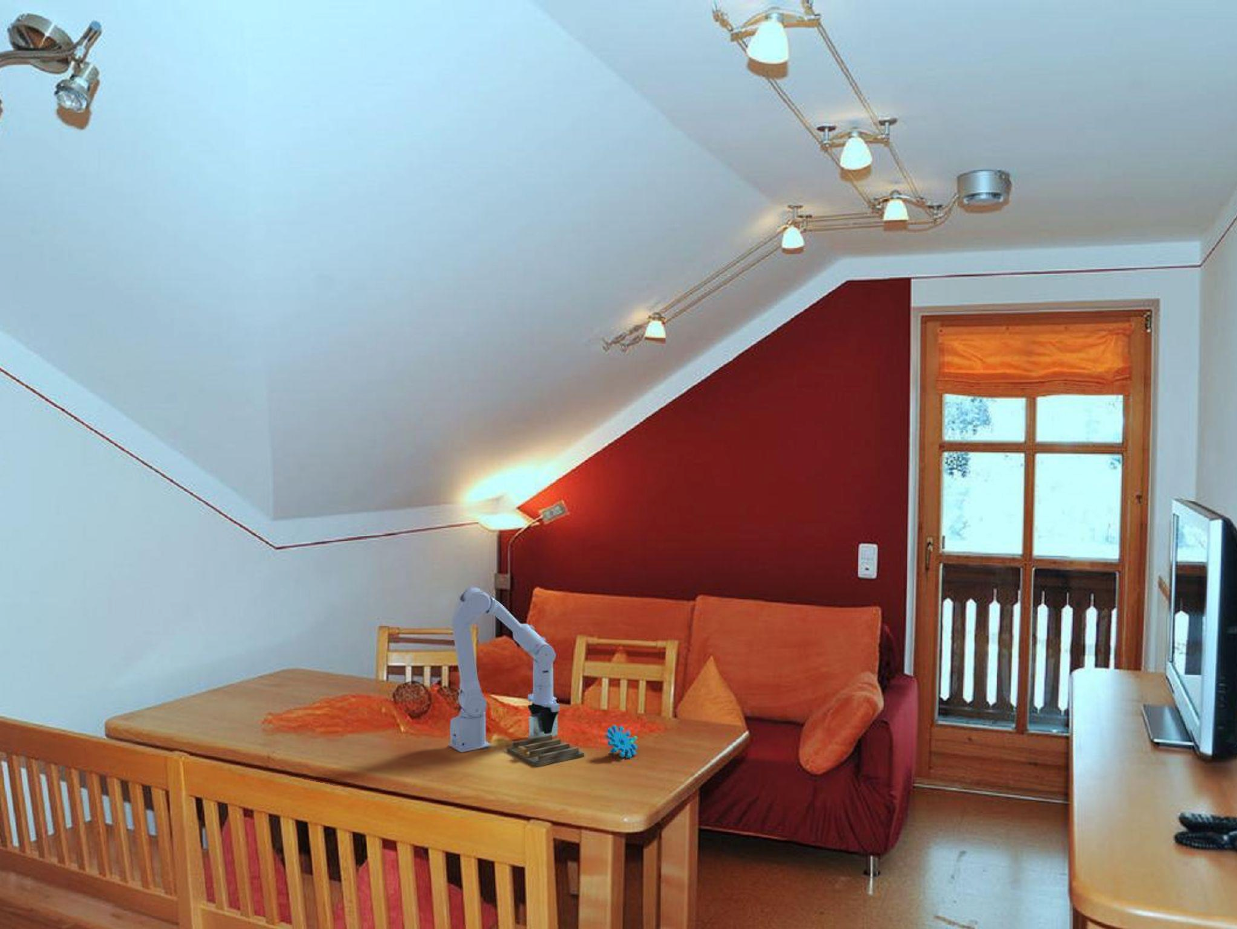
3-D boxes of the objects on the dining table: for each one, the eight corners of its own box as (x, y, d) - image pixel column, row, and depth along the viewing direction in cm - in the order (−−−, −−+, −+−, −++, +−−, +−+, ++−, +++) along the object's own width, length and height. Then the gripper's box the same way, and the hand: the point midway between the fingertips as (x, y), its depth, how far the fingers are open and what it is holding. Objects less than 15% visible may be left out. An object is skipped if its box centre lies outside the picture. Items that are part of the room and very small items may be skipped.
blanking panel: (533, 741, 294) (533, 717, 294) (529, 739, 296) (529, 715, 296) (557, 736, 299) (557, 712, 299) (553, 734, 301) (553, 710, 301)
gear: (618, 757, 275) (602, 724, 280) (606, 769, 278) (590, 737, 283) (647, 753, 283) (631, 722, 288) (634, 765, 285) (619, 734, 291)
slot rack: (535, 767, 272) (535, 755, 272) (507, 751, 285) (506, 740, 285) (584, 756, 281) (584, 745, 280) (554, 741, 294) (553, 731, 294)
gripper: (568, 687, 293) (568, 734, 294) (542, 677, 305) (542, 722, 306) (546, 691, 289) (547, 739, 290) (521, 680, 301) (521, 726, 302)
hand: (543, 731), depth 298 cm, fingers open, 4 cm apart
